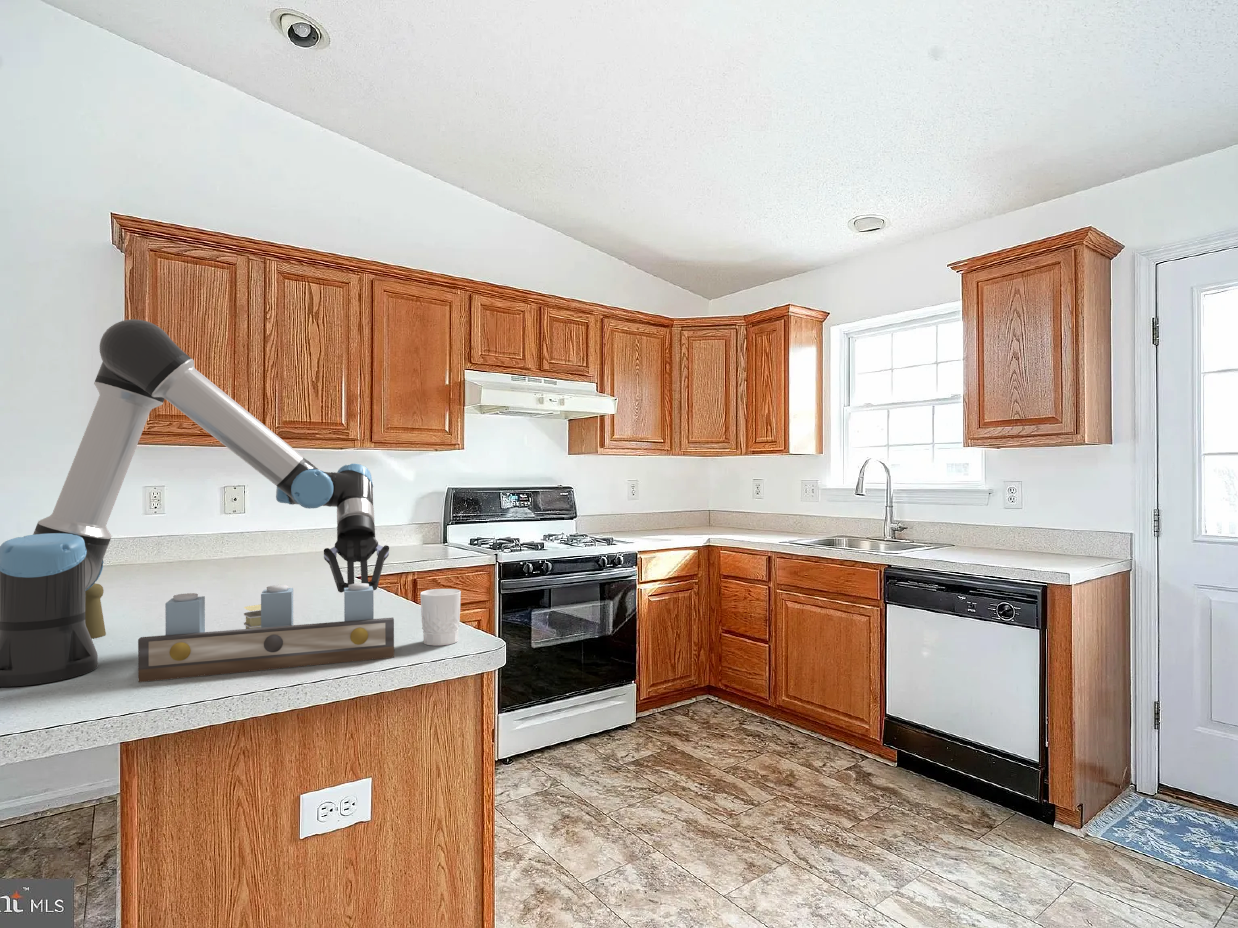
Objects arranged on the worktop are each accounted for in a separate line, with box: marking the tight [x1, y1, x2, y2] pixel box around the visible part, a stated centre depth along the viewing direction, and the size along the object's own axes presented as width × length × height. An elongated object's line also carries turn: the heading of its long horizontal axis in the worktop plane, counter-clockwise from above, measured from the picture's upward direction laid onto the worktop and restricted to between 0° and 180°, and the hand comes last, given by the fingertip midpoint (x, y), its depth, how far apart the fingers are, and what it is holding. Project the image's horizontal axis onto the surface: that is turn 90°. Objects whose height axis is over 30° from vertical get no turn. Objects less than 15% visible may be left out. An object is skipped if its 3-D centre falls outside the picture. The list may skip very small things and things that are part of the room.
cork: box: [85, 582, 107, 639], centre depth 149 cm, size 6×6×11 cm
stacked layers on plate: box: [243, 603, 261, 629], centre depth 153 cm, size 10×9×6 cm
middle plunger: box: [260, 584, 294, 628], centre depth 131 cm, size 5×5×11 cm
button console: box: [137, 617, 395, 683], centre depth 130 cm, size 13×40×7 cm, turn 111°
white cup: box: [420, 588, 462, 647], centre depth 143 cm, size 8×8×10 cm
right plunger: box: [343, 582, 375, 621], centre depth 133 cm, size 5×5×11 cm
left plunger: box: [164, 592, 206, 635], centre depth 123 cm, size 5×5×11 cm
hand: (358, 618), depth 136 cm, fingers closed
